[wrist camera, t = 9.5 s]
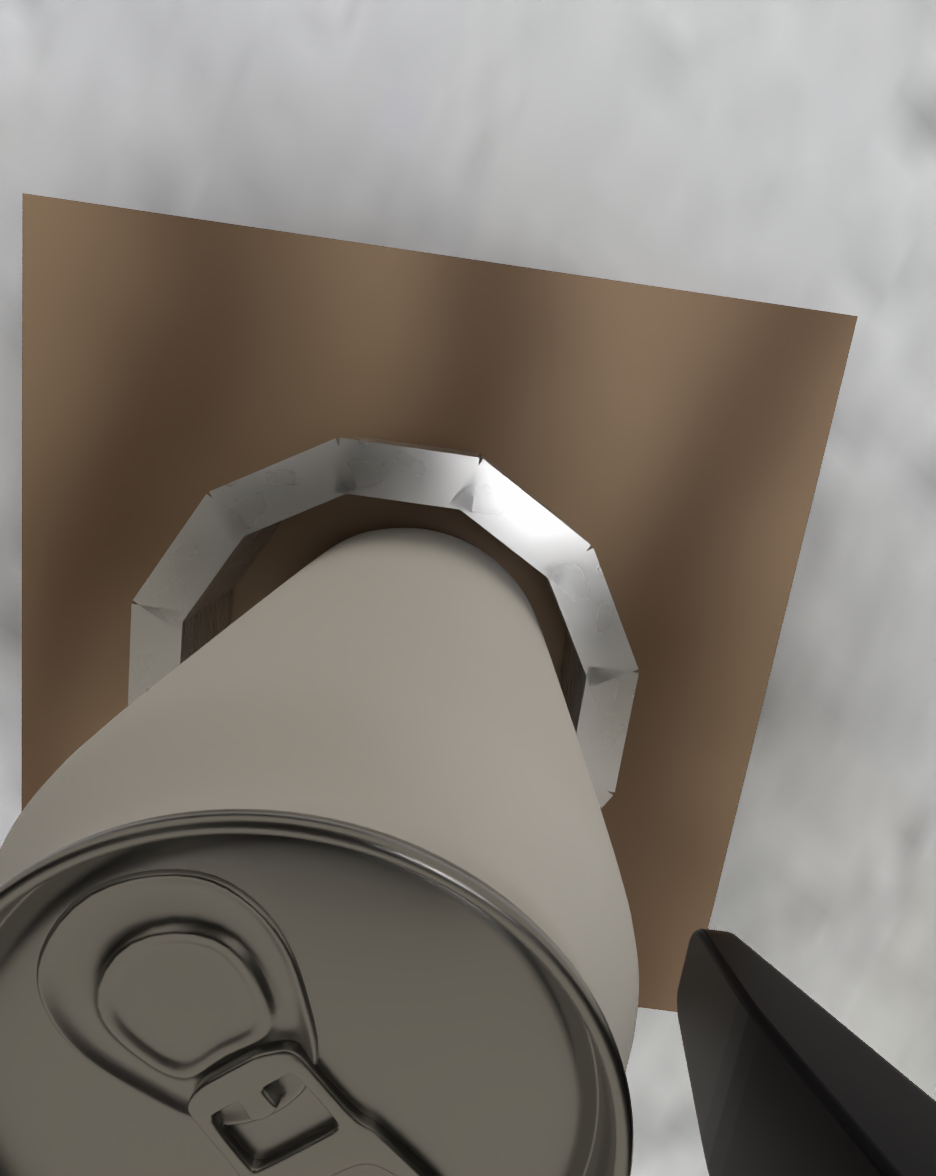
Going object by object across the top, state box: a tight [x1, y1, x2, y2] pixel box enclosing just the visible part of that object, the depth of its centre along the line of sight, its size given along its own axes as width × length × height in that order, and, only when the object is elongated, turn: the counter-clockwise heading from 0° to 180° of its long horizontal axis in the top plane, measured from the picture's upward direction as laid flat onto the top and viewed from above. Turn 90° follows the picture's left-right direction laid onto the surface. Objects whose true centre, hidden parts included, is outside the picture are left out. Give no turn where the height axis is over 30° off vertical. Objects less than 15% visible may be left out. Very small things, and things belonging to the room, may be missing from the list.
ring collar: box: [128, 437, 639, 809], centre depth 16 cm, size 10×10×3 cm
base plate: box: [22, 194, 858, 1012], centre depth 17 cm, size 18×18×1 cm
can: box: [0, 528, 639, 1176], centre depth 11 cm, size 6×6×12 cm
